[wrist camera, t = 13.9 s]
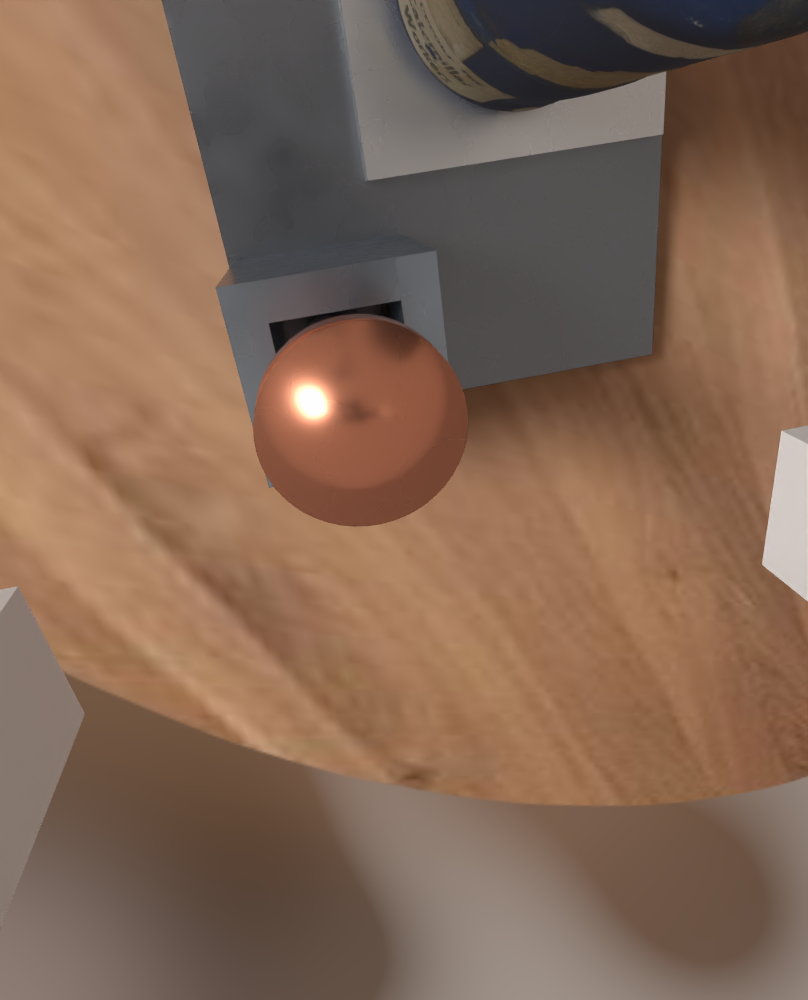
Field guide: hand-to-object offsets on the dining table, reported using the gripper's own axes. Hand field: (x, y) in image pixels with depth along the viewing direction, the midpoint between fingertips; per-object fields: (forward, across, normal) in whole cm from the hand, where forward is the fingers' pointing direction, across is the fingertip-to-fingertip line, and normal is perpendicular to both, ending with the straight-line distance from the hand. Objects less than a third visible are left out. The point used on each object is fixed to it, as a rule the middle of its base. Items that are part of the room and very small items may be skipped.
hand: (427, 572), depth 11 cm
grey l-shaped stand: (+23, +6, +7) cm, 25 cm away
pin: (+16, 0, 0) cm, 16 cm away
